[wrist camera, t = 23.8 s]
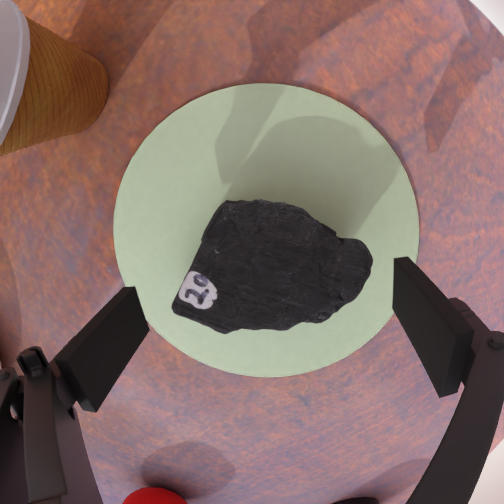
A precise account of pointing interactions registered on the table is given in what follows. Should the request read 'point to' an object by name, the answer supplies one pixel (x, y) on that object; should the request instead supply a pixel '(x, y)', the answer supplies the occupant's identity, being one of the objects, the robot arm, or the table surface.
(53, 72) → the disposable coffee cup
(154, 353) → the table surface
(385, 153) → the mat
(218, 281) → the rock
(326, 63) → the table surface
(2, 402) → the robot arm
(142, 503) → the tomato
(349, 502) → the mug
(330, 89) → the table surface
